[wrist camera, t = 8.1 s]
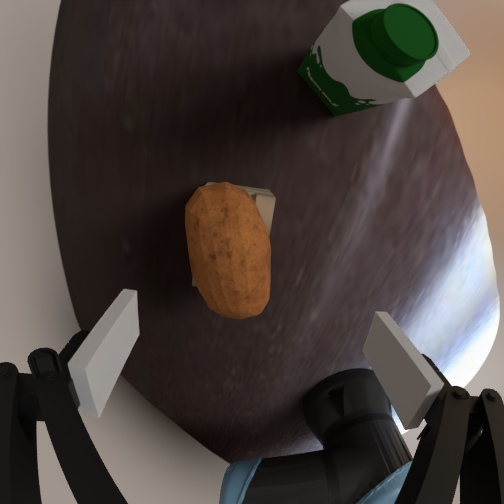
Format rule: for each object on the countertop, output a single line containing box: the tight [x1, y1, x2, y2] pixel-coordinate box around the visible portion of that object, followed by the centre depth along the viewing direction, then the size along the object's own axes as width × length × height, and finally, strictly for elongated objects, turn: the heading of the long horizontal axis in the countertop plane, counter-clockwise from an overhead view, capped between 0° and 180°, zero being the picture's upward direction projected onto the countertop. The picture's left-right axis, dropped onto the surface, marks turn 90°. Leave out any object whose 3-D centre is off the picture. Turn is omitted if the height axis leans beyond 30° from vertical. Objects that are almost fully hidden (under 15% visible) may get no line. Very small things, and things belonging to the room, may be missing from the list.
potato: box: [185, 182, 271, 319], centre depth 26 cm, size 7×13×7 cm, turn 6°
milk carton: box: [297, 0, 470, 116], centre depth 21 cm, size 9×9×20 cm
